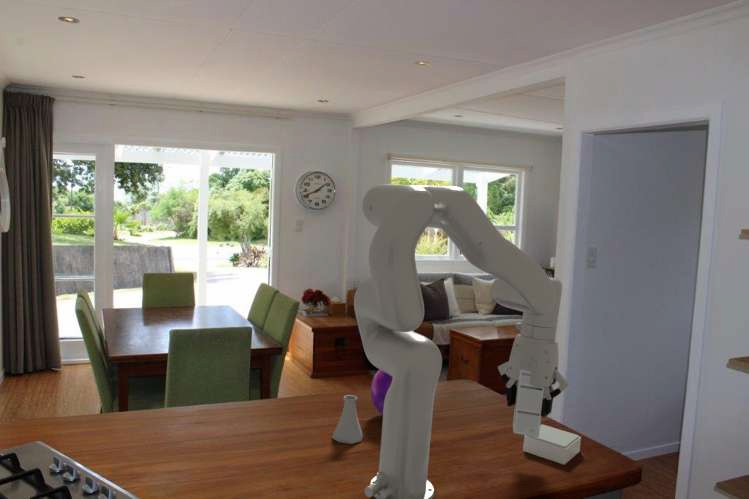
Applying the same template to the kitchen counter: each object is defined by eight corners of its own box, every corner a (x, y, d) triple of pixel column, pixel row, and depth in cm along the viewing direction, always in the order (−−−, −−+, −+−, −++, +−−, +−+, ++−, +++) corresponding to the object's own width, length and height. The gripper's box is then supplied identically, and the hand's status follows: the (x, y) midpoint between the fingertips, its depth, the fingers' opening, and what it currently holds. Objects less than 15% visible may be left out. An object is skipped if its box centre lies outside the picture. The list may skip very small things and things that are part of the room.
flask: (326, 439, 142) (329, 397, 141) (342, 429, 148) (345, 389, 147) (353, 447, 139) (356, 405, 138) (368, 437, 145) (371, 396, 144)
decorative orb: (394, 434, 147) (399, 374, 146) (357, 414, 159) (361, 358, 158) (438, 423, 157) (443, 366, 155) (400, 404, 168) (404, 351, 167)
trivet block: (564, 464, 137) (566, 447, 137) (522, 450, 143) (524, 434, 143) (579, 451, 145) (581, 435, 145) (539, 438, 151) (541, 423, 151)
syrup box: (539, 438, 133) (548, 373, 132) (511, 433, 134) (520, 368, 133) (537, 429, 138) (546, 367, 137) (511, 424, 140) (519, 362, 139)
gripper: (494, 325, 137) (485, 402, 138) (570, 343, 126) (559, 425, 128) (509, 322, 143) (499, 396, 144) (583, 339, 132) (571, 418, 134)
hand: (527, 409), depth 136 cm, fingers closed on syrup box, 7 cm apart
